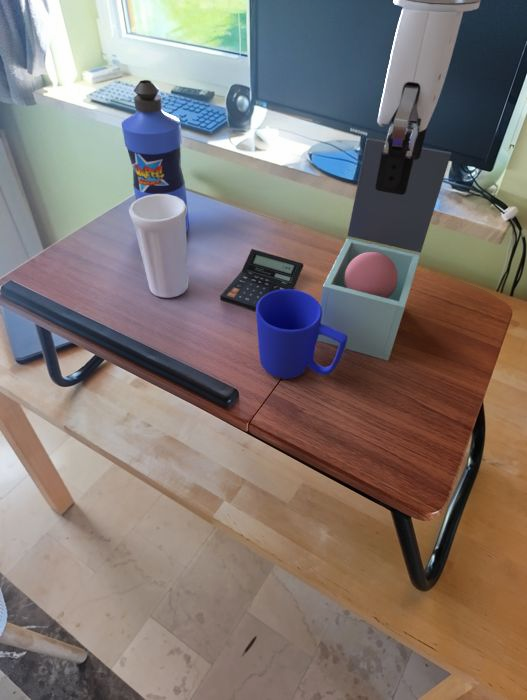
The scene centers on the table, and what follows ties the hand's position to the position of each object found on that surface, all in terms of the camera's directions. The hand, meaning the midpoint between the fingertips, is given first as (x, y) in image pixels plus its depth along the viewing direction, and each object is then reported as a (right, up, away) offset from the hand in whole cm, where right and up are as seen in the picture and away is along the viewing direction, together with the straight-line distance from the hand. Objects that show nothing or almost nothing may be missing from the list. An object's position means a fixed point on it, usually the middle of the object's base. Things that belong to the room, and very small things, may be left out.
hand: (398, 173), depth 54 cm
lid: (+3, +1, +11) cm, 11 cm away
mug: (-11, -23, +12) cm, 28 cm away
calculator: (-15, -10, +24) cm, 30 cm away
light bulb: (-1, -16, +17) cm, 24 cm away
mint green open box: (0, -16, +19) cm, 24 cm away
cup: (-31, -10, +24) cm, 40 cm away
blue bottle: (-34, +3, +37) cm, 50 cm away
